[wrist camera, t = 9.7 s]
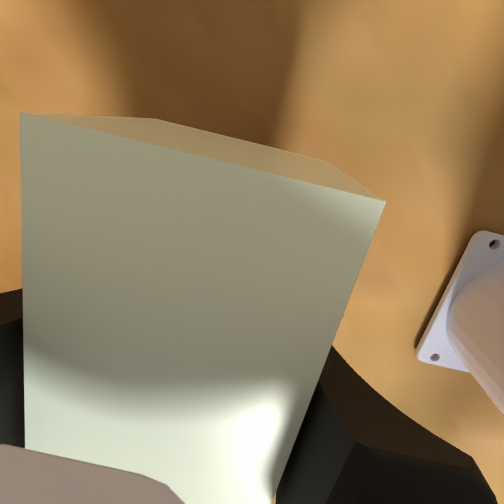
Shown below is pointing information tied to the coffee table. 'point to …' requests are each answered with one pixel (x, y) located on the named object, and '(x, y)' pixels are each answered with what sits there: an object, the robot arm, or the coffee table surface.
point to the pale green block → (180, 297)
